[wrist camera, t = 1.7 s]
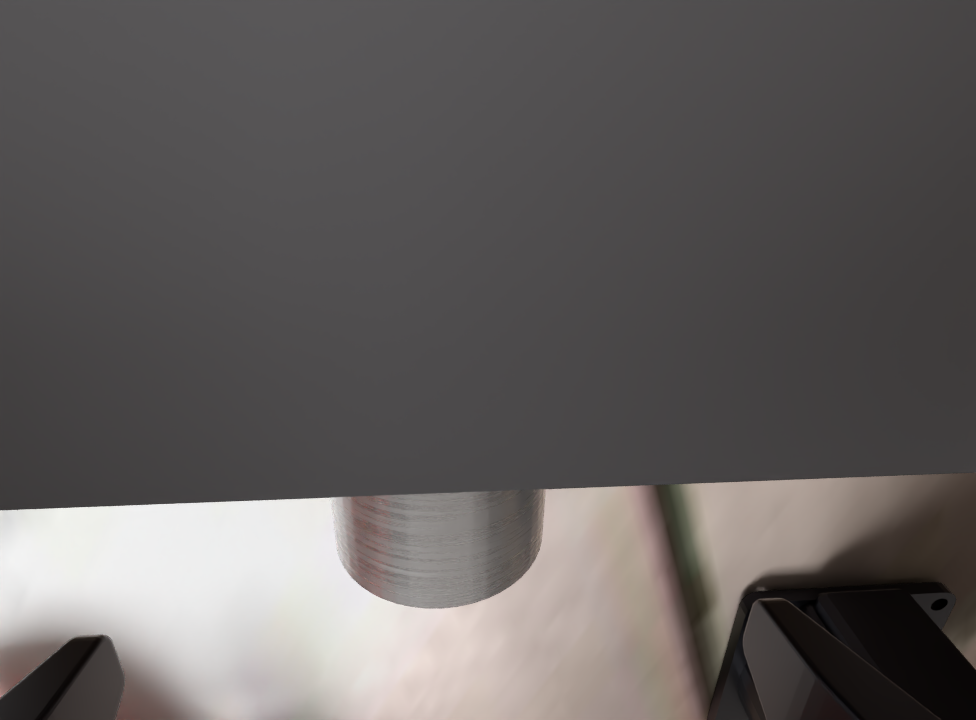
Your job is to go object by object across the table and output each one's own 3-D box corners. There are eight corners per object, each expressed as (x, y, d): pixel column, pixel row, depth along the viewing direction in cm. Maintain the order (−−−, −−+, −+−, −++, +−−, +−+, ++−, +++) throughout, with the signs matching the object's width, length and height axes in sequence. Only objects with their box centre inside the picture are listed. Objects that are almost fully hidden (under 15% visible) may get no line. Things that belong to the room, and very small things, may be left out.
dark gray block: (774, 208, 11) (1296, 460, 4) (61, 210, 10) (-663, 535, 3) (819, 6, 9) (1699, -77, 3) (-5, -14, 8) (-1477, -206, 2)
